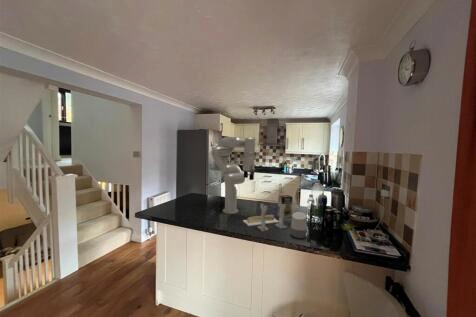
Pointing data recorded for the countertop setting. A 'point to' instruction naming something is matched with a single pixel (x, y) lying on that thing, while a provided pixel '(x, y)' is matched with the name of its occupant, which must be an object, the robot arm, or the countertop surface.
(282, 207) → the metal standards
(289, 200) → the coffee box
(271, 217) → the beech rail
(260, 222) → the grey mat
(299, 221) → the smart speaker
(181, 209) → the countertop surface
